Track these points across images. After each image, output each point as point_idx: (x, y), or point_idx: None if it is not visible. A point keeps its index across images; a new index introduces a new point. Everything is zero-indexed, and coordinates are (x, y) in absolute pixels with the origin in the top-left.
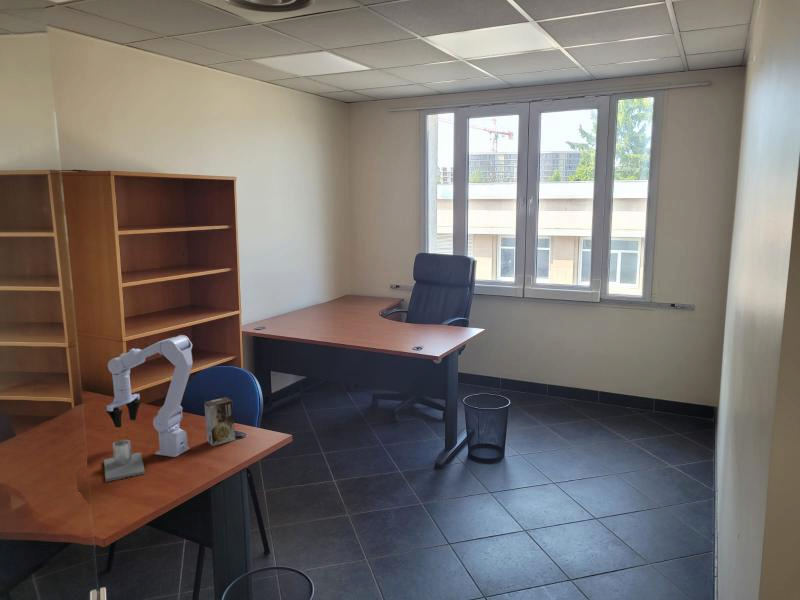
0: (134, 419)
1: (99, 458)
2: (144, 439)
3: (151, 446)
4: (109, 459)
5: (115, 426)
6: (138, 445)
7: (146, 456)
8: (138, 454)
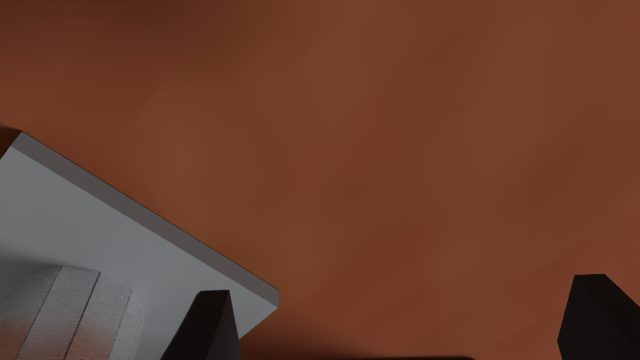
0: (560, 352)
1: (44, 12)
2: (623, 83)
3: (456, 254)
4: (41, 191)
5: (194, 305)
6: (457, 139)
7: (272, 336)
8: (237, 319)
